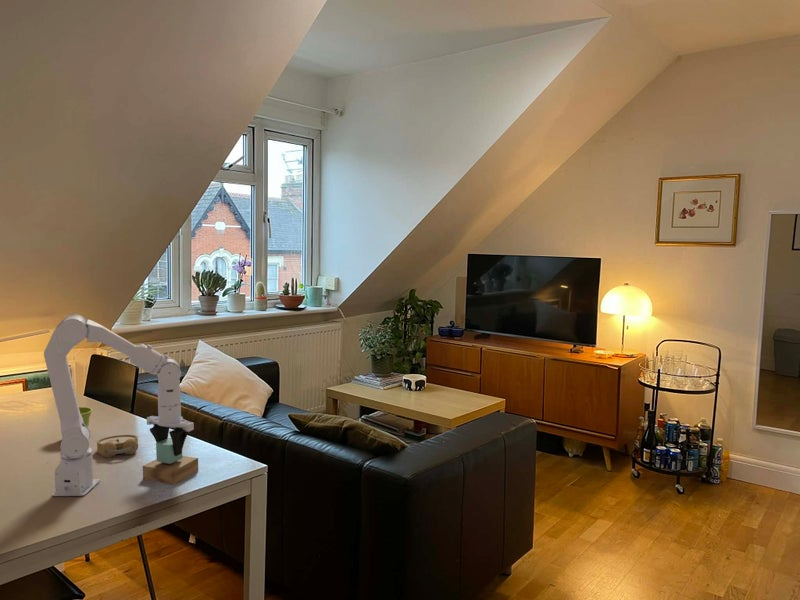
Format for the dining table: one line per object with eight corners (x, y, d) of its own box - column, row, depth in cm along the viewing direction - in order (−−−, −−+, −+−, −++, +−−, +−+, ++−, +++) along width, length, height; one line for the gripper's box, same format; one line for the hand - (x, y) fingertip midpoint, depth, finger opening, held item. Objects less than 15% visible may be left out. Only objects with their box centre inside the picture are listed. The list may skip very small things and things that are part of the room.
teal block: (182, 458, 167) (181, 440, 167) (169, 463, 163) (169, 445, 163) (169, 455, 169) (168, 437, 169) (156, 461, 165) (156, 443, 165)
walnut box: (198, 472, 170) (198, 458, 170) (174, 485, 161) (173, 470, 160) (168, 467, 173) (168, 453, 173) (143, 480, 164) (142, 465, 164)
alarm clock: (135, 432, 193) (141, 438, 180) (136, 448, 193) (142, 455, 180) (95, 438, 188) (98, 444, 175) (96, 454, 188) (99, 461, 175)
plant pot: (99, 436, 198) (98, 409, 197) (71, 444, 190) (70, 416, 189) (81, 431, 203) (80, 405, 202) (53, 439, 195) (52, 412, 194)
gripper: (201, 403, 166) (202, 452, 167) (159, 397, 172) (161, 444, 173) (182, 410, 159) (183, 461, 161) (140, 403, 165) (141, 452, 166)
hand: (170, 453), depth 166 cm, fingers closed on teal block, 4 cm apart
